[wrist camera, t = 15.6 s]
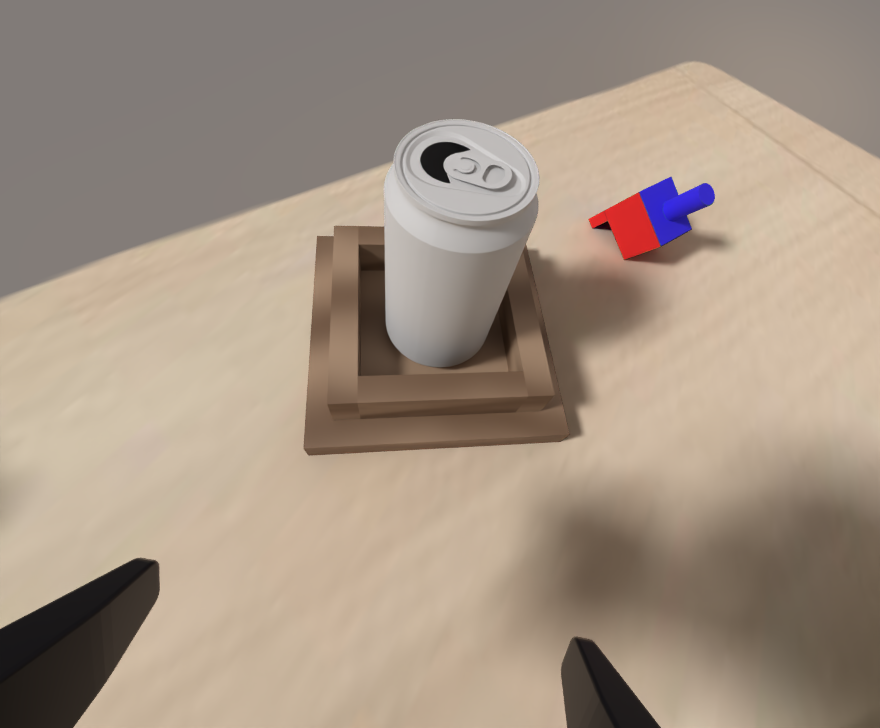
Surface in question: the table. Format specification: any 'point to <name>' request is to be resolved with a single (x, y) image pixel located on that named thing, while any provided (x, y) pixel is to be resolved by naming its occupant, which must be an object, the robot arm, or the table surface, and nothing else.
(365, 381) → the socket block
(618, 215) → the toy building block
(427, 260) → the beverage can
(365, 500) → the table surface
